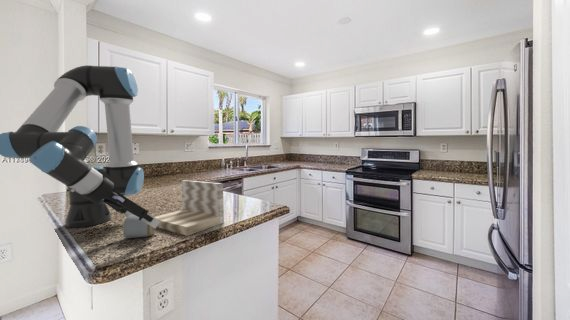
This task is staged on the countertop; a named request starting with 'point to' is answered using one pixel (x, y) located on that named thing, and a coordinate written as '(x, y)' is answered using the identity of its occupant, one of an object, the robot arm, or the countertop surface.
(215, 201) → the wall shelf
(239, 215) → the countertop surface
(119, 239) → the countertop surface
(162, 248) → the countertop surface
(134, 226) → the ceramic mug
